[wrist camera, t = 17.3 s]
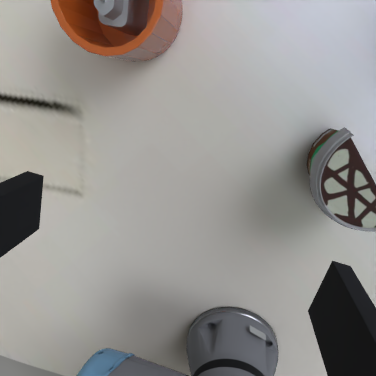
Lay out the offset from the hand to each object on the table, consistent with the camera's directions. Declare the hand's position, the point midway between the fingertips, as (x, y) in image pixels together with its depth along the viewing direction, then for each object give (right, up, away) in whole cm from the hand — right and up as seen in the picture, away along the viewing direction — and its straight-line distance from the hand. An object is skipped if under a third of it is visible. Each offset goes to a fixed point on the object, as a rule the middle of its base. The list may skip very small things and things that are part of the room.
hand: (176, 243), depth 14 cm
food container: (+19, +5, +28) cm, 34 cm away
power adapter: (-6, +24, +25) cm, 35 cm away
